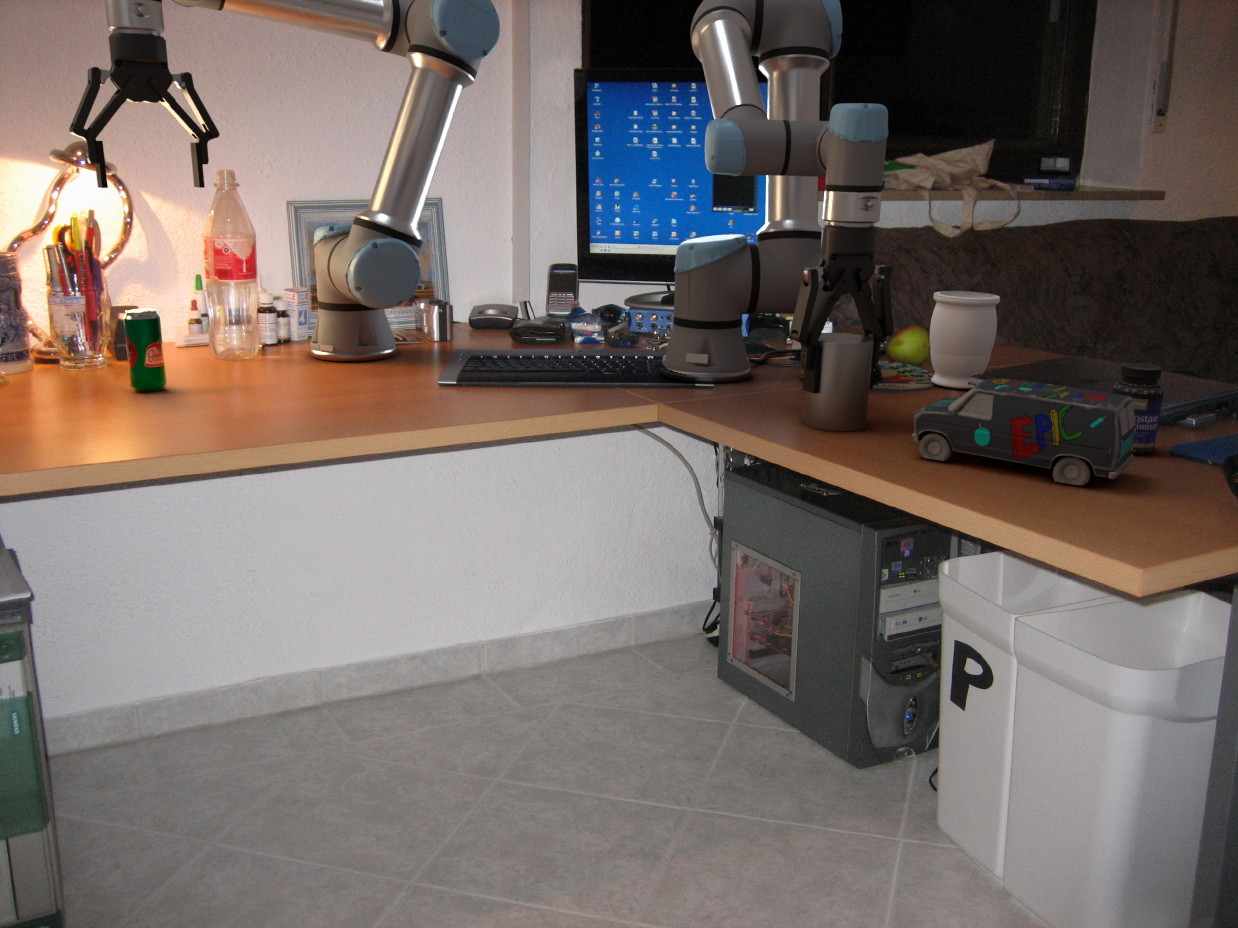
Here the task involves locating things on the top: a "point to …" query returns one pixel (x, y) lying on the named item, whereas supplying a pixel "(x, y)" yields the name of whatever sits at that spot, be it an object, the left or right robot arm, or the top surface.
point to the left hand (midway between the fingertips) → (152, 188)
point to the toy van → (1033, 428)
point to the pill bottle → (1142, 401)
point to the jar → (962, 336)
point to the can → (841, 383)
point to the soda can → (145, 349)
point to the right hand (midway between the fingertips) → (837, 388)
